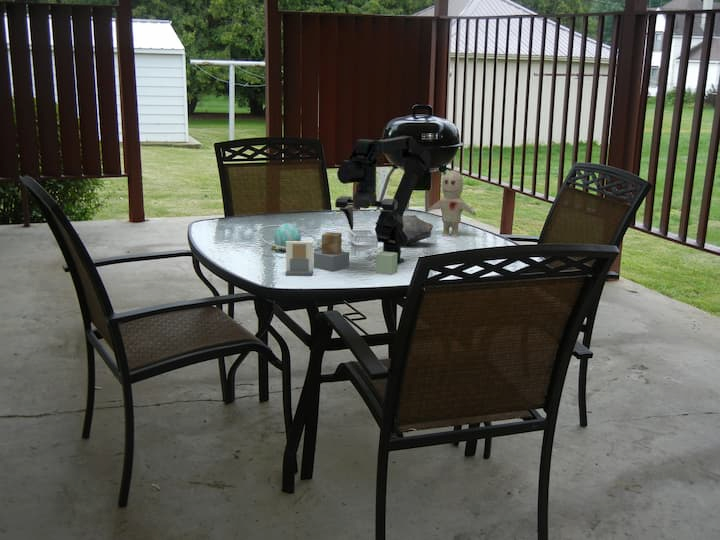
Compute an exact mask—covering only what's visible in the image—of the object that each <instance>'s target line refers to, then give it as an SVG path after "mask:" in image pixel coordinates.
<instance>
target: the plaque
mask: <svg viewBox="0 0 720 540" xmlns="http://www.w3.org/2000/svg"><path fill="white" fill-rule="evenodd" d="M313 246H314V244H313V241H309V240H308V241H306V240H305V241H304V240H303V241H302V240H301V241H286V251H285V259H286V260H285V267H286V268H285V269H286V271H285V276H286V277H287V276H288V277H291V276H292V277H312V276H313V273H314V250H313V249H314V248H313Z"/></svg>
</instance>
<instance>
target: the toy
mask: <svg viewBox="0 0 720 540" xmlns="http://www.w3.org/2000/svg"><path fill="white" fill-rule="evenodd" d="M441 183H442V184H441V185H442V186H441V187H442V188H441V189H442V193H443V197H441V198H439V200H438V201H436V202H435V203H434V204H433V205H431V206H430V207H429V208H427V211H428V212H431V211H433V210H436V209H440V211H441V221H442V223H443V231H442V232H443V233H442V235H441V236H442V237H449V235H450V228H451V236H450V237H451V238H457V237H458V236H459V224H460V222H461V219H462V218H461V217H462V212H463V211H465V213H466V212H467V213H469V214H470V215H472V216H476V214H477V213H476V211H475V210H474V209H473V208H472V207H471V206H470V205H469V204H468V203H467V202H466V201H465V200H464V199H463V198H461V195H462V193H463V189H464V178H463V176H462V174H461V173H460V172H459V171H457V170H454V169H452V170H449V171H447V172H446V173H445V174H444V175H443V177H442V181H441Z"/></svg>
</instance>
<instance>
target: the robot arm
mask: <svg viewBox="0 0 720 540" xmlns="http://www.w3.org/2000/svg"><path fill="white" fill-rule="evenodd" d="M398 151H400V156H401V157H402V158H403V161H402V166H403V175H402V177H401V179H400V182H399V183H398V186H397V189H396V191H395V193H394V196H393V198H383V200H378V199H377V166H378V167H379V166H382V163H381V162H380V161H379V160H378V158H381V157H382V156H383V155H384V154H387V153H392V152H398ZM431 162H432V156H431V154H430V152H429V151H428V150H427V148H426V147H424V146H423V145H422V144H420V143H419V142H417V140H416V139H415V137H413V135H412V136H409V135H401V136H396V137H393V138H392V137H390V138H385V139H380V140H376V139H375V140H372V139H363V138H362V139H357V140H356V143H355V145H354V147H353V149H352V151H351V153H350V155H349V157H348V159H347V160H342V164H341V165H340V166H339V167H338V169H337V170H336V171H337V172H336V173H337V174H336V176H337V179H338V181H339V182H340V183H341V184H343V185H346V184H355V183H357V185H356V190H355V192H354V194H353V196H339V197H337V198H336V199H335V205H334V206H335V207H334V208H338V209H339V211H342V212H343V214H344V215H345V217H346V219H347V223H348V225H349V228H350V230H351V231H353V229H354V209H358V208H359V209H369V208H371V207H373V208H381V209H382V210H380V214H379V215H378V219H377V221H376V222H375V228H374V231H375V234H376V235H375V236H376V239H377V242H378V243H382V244H383V245H382V251H385V252H394V253H397V265H398V264H399V263H402V262H404V261H405V259H404V258H403V257H402V258H401V255H402V254H401V252H402V248H401V246H405V245H407V244H406V243H407V239H408V237H407V236H406V235H405V233H404V232H403V231H402V230H403V226H404V224H403V218H402V217H403V216H404V214H405V212H406V209H407V206H408V204H409V201H410V199H411V196H412V194H413V192H414V189H415V186H416V184H417V182H418V179H419V178H420V177H421V176H422V175H424V174H425V173H426V171H427V170H428V168H429V167H430V165H431Z"/></svg>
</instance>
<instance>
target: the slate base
mask: <svg viewBox="0 0 720 540" xmlns="http://www.w3.org/2000/svg"><path fill="white" fill-rule="evenodd" d="M349 267H350V252H347V251H343V250H341V252H340V253H339V254H338V255H331V254H322V250H320V251H316V252H313V269H319V270H324V271H328V272H332V273H333V272H337V271H340V270H344V269H348V268H349Z"/></svg>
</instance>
